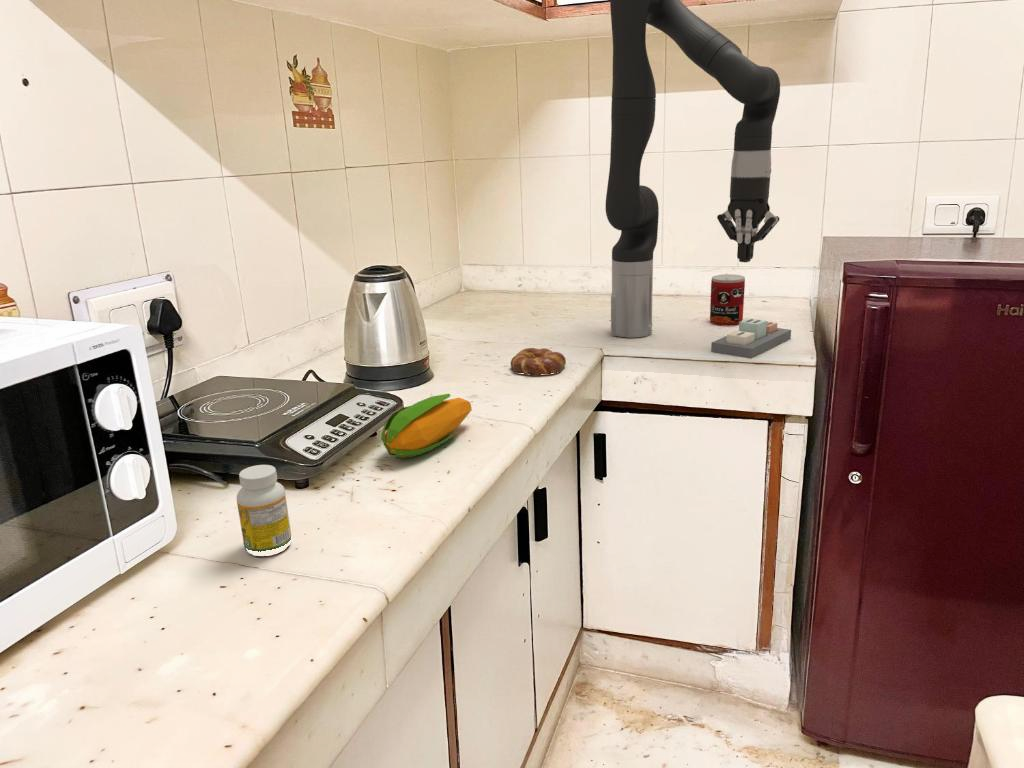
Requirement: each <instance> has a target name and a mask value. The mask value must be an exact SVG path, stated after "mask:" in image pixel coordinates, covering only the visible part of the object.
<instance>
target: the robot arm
mask: <svg viewBox="0 0 1024 768" xmlns="http://www.w3.org/2000/svg"><path fill="white" fill-rule="evenodd" d="M609 1H610V2H609V6H610V9H609V10H610V20H611V21H610V22H611V33H612V34H611V35H612V37H611V38H612V86H611V87H612V89H611V111H610V113H611V115H610V120H611V121H610V122H611V127H610V128H611V133H610V157H609V158H610V159H609V162H610V163H609V172H608V179H607V180H608V181H607V187H606V195H605V214H606V215H605V216H606V219H607V221H608V223H609V224H610V225H611V226H612V227H613V228H614V229H615V230H617V231H621V233H620V236H619V239H618V240H617V242H616V243H615V244H614V245H613V247H612V250H611V295H610V336H612V337H613V336H614V337H621V338H630V339H631V338H643V337H647V336H650V335H652V333H653V292H654V290H653V285H654V284H653V282H654V281H653V280H654V278H653V277H654V251H655V248H656V246H657V244H658V243H657V242H658V233H659V232H658V230H659V216H660V215H659V214H660V213H659V211H660V209H659V207H660V206H659V201H658V196H657V195H656V193H655V192H654V190H653V189H652V188H650V187H649V186H648V185H647V186H646V185H641V184H640V183H641V180H640V179H641V165H642V161H643V157H644V154H645V151H646V149H647V146H648V144H649V141H650V139H651V136H652V133H653V129H654V125H655V119H656V118H655V117H656V106H657V105H656V104H657V103H656V102H657V101H656V100H657V99H656V98H657V95H656V94H657V93H656V84H655V83H656V81H655V78H654V74H653V71H652V67H651V64H650V61H649V56H648V50H647V44H646V33H647V25H649V26H651V27H653V28H656V29H658V30H659V31H661V32H663V34H665V35H667V36H668V37H669V38H670V39H672V41H674V42H675V44H676V45H677V46H678V47H679V48H680V50H681V51H682V52H683V53H684V55H685V56H686V57H687V59H689V60H690V61H691V62H692V63H694V64H695V65H697V67H699V68H700V69H701V70H703V72H705V73H706V74H707V75H709V76H710V77H712V78H713V79H715V80H716V81H717V82H718V85H720V86H721V87H722V88H723V90H724V91H726V92H727V93H728V95H730V96H731V97H732V98H733V99H735V101H737V102H739V103H740V104H743V111H742V115H741V119H740V120H739V121H738V122H737V123H736V124H735V129H734V139H733V140H734V142H733V154H732V159H731V167H730V168H731V169H730V184H729V203H728V204H727V209H726V210H725V211H724V212H723V213H719V214H717V216H716V219H717V221H718V223H719V224H720V226H721V227H722V229H723V230H724V232H725V233H726V235H727V237H728V238H729V240H730V241H731V240H732V241H734V242H737V253H736V257H737V260H738V261H739V263H750V262H751V260H752V259H753V258H754V248H755V243H756V242H759V241H763V240H764V239H765V238H766V237H767V235H769V233H770V232H771V231H772V230H773V229H774V227H776V225H777V224H778V223H779V221H780V219H781V218H780V217H779V216H777V215H775V214H774V213H772V212H771V211H770V210H771V209H770V208H771V207H770V203H769V197H770V187H771V185H770V184H771V173H772V140H773V139H772V137H773V125H774V120H775V118H776V114H777V111H778V110H777V109H778V105H779V100H780V95H781V81H780V77H779V74H778V73H777V71H776V70H774V69H773V68H771V67H769V66H765V65H764V66H763V65H759V64H756V63H755V62H754V61H751V60H750V58H748V57H747V56H745V55H744V54H743V53H742V52H743V51H742V50H741V48H740V47H739V46H738V45H737V44H735V43H734V42H733V41H732V40H731V39H730V38H728V37H726V36H725V35H724V34H723V33H721V32H720V31H719V30H717V29H716V28H714V27H713V26H712V25H710V24H709V23H707V22H706V21H705V20H704V19H702V18H700V16H698V15H696V14H695V13H694V12H693V11H692V10H690V9H689V7H688V6H686V5H685V4H684V3H683V2H682V1H681V0H609ZM762 221H763V223H764V224H763V225H762V226H761V227H760V224H761V223H762ZM734 223H735V224H734ZM759 227H760V228H759Z"/></svg>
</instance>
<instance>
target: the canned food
mask: <svg viewBox="0 0 1024 768" xmlns="http://www.w3.org/2000/svg"><path fill="white" fill-rule="evenodd" d="M745 278H746V277H745V276H743V275H740V274H731V273H730V274H726V273H725V274H716V275H713V276H711V280H710V281H711V282H710V300H709V301H710V305H709V306H710V307H709V322H710V323H711V324H712V323H713V325H715V324H716V325H715V326H721V325H733V326H738V325H739V322H741V321H743V320H744V319H743V318H744V307H745V306H744V304H745V287H746V279H745ZM737 324H738V325H737Z"/></svg>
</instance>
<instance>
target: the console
mask: <svg viewBox="0 0 1024 768" xmlns="http://www.w3.org/2000/svg"><path fill="white" fill-rule="evenodd" d="M791 337H792V329H789V328H780V327H777V331H776V332H774V333H771V334H766V336H765V337H763V338H761V339H759V340H754V342H752V343H750V344H748V345H739V344H733V343H726V340H727V335H725V336H723V337H720V338H719V339H716V340H714V341H711V345H710V346H711V348H710V349H711V350H710V351H711V352H712V353H719V354H722V355H723V354H724V355H729V356H736V357H742V358H746V359H747V358H748V359H753V358H755V357H757V356H759V355H761V354H763V353H765V352H767V351H768V350H771V349H773V348H775V347H777V346H779V345H781V344H782V343H784V342H786V341H789V340H791V339H792V338H791Z"/></svg>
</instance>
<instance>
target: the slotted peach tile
mask: <svg viewBox="0 0 1024 768" xmlns="http://www.w3.org/2000/svg"><path fill="white" fill-rule="evenodd" d="M777 328H778V322H775V321H774V322H773V321H767V327H766V334H771V333H774V332H776V331H777Z"/></svg>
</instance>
